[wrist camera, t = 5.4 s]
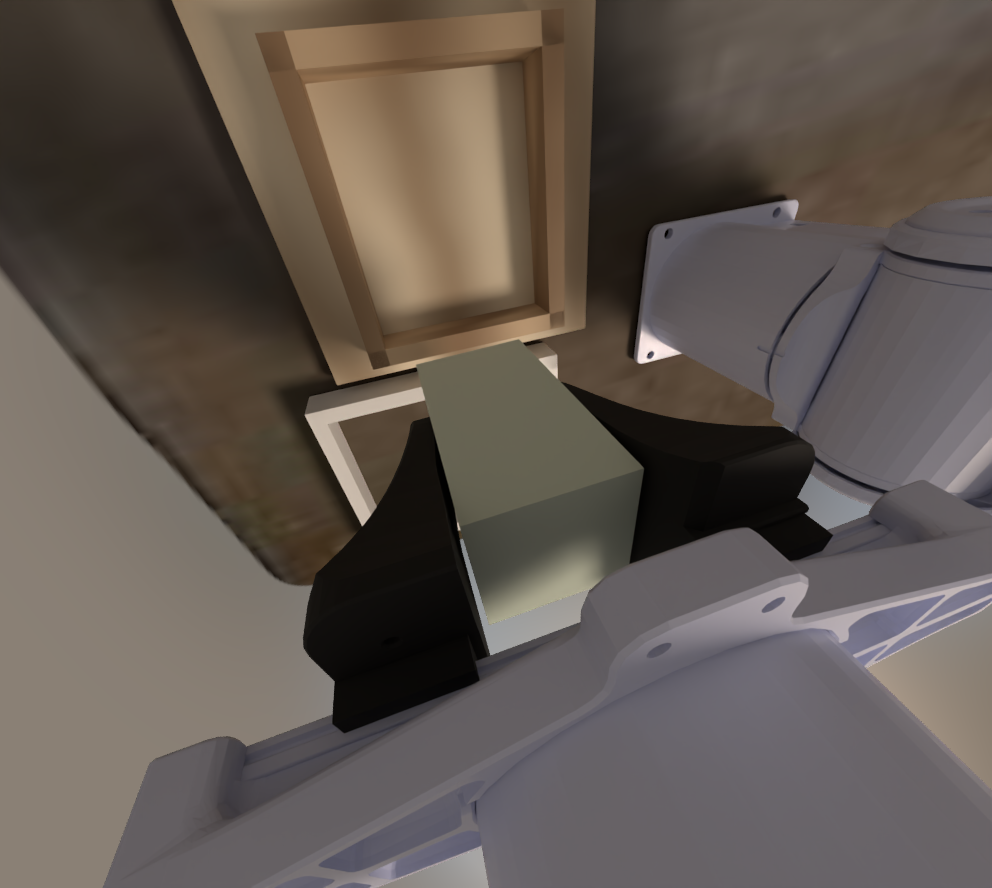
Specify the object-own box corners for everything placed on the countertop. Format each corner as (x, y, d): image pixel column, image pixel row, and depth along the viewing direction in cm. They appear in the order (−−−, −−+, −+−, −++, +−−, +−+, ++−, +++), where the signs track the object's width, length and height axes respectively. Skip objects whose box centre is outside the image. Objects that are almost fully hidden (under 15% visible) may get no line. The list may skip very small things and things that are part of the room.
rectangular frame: (543, 342, 22) (557, 354, 20) (549, 482, 29) (559, 499, 27) (309, 396, 20) (304, 414, 18) (376, 533, 27) (377, 555, 25)
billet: (519, 339, 14) (644, 468, 8) (527, 424, 16) (627, 575, 10) (415, 364, 13) (459, 526, 7) (440, 449, 16) (489, 624, 9)
